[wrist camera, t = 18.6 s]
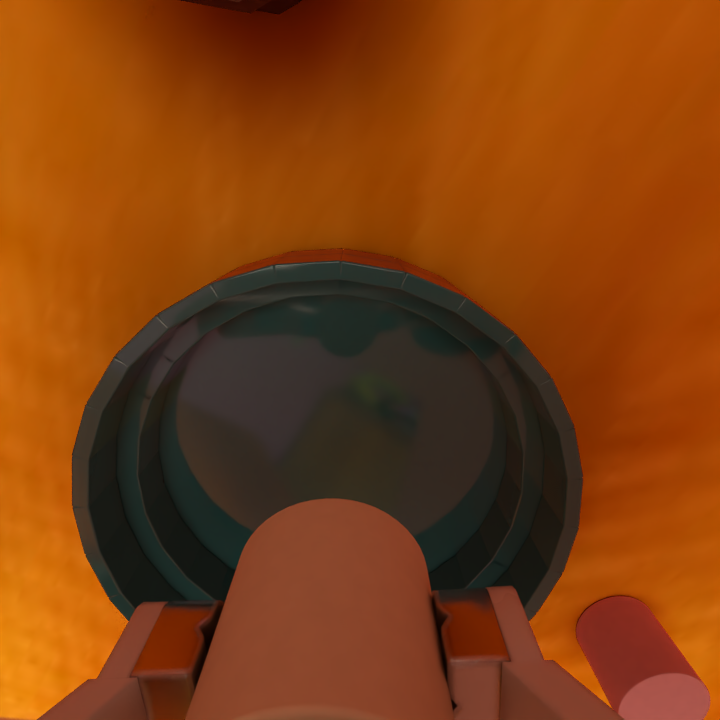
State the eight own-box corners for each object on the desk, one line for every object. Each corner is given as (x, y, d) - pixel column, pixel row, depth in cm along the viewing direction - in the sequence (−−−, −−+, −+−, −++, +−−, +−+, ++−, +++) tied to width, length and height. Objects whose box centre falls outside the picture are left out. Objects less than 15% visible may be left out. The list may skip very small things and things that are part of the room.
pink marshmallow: (657, 593, 25) (717, 670, 21) (647, 654, 27) (703, 739, 22) (578, 597, 25) (623, 675, 21) (572, 658, 27) (614, 744, 22)
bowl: (544, 235, 20) (605, 244, 15) (525, 601, 25) (565, 693, 21) (92, 261, 20) (10, 279, 15) (169, 621, 25) (126, 717, 21)
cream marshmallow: (425, 491, 10) (473, 703, 6) (428, 647, 11) (469, 915, 7) (226, 500, 10) (129, 717, 6) (250, 654, 11) (184, 925, 7)
